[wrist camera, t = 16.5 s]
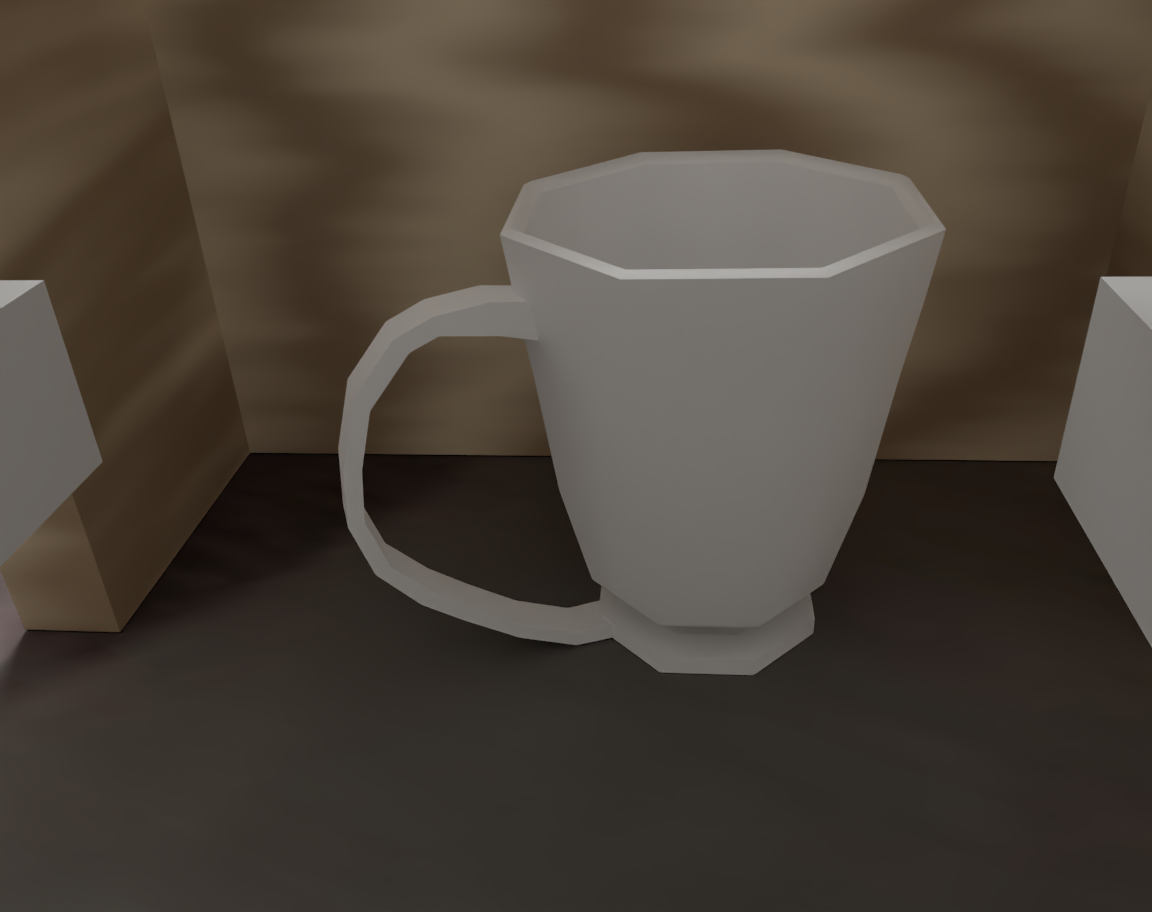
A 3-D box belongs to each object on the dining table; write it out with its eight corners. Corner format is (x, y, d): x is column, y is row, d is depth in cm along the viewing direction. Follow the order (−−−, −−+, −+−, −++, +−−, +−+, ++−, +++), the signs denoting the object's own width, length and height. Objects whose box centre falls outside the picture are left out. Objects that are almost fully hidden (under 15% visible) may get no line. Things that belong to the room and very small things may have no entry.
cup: (966, 676, 18) (1056, 235, 14) (408, 831, 16) (318, 353, 12) (781, 481, 24) (807, 129, 20) (354, 572, 21) (282, 193, 17)
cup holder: (1128, 421, 25) (1407, -618, 16) (1321, 666, 18) (2079, -1055, 8) (199, 414, 28) (-37, -491, 18) (15, 628, 20) (-555, -739, 11)
